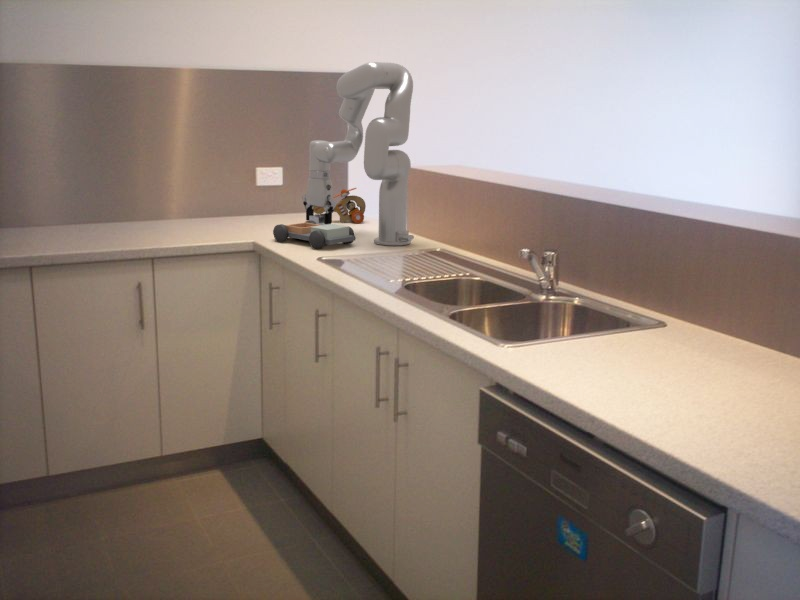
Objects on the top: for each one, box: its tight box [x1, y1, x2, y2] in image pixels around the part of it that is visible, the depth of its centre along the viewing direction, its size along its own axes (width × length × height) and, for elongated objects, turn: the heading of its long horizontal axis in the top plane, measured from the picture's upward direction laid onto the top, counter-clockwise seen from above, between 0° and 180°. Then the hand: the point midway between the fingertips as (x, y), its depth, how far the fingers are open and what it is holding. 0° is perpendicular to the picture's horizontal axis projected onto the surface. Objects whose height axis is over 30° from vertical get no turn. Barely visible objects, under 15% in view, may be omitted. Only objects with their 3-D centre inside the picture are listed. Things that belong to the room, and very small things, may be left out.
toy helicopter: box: [312, 187, 366, 224], centre depth 345 cm, size 8×21×14 cm, turn 101°
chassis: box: [272, 220, 356, 250], centre depth 299 cm, size 28×15×6 cm, turn 48°
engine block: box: [308, 213, 329, 225], centre depth 323 cm, size 5×6×6 cm
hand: (318, 221), depth 323 cm, fingers open, 9 cm apart
